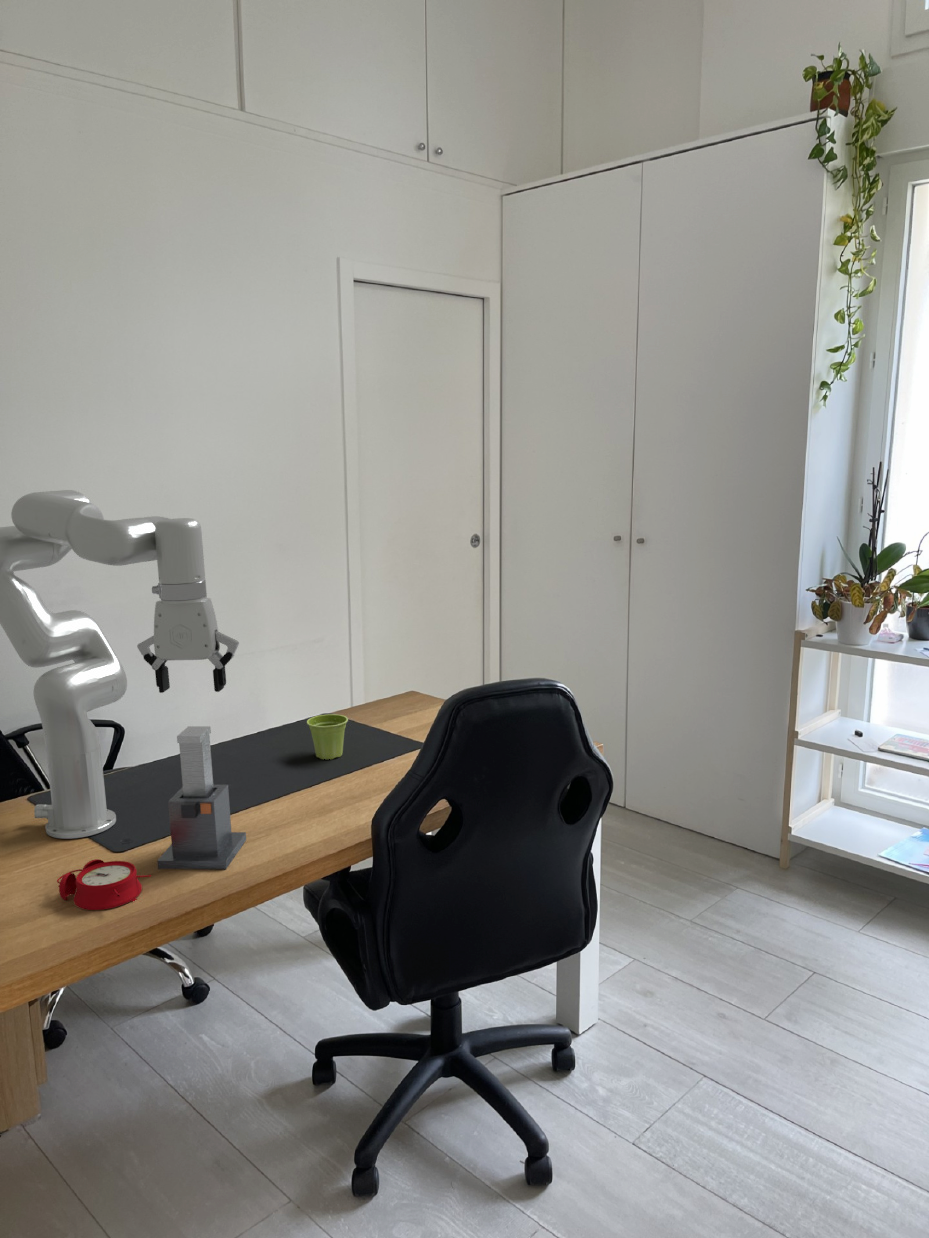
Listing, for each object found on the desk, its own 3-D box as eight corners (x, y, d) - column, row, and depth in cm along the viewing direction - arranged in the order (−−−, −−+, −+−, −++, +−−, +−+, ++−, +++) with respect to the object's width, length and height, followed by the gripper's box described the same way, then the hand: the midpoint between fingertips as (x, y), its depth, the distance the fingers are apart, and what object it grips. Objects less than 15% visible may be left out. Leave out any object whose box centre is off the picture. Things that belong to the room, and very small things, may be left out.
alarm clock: (113, 896, 144) (40, 861, 149) (110, 931, 146) (38, 895, 151) (159, 867, 154) (89, 836, 159) (155, 900, 155) (86, 868, 160)
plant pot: (346, 762, 213) (344, 725, 211) (305, 762, 213) (303, 726, 212) (352, 748, 222) (350, 713, 221) (312, 749, 222) (310, 714, 221)
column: (186, 852, 164) (176, 736, 160) (197, 838, 169) (188, 726, 165) (208, 852, 163) (199, 736, 159) (218, 838, 169) (210, 726, 165)
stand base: (157, 868, 161) (152, 805, 159) (182, 839, 173) (177, 780, 171) (226, 869, 160) (221, 805, 158) (246, 839, 172) (242, 780, 170)
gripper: (124, 596, 155) (134, 696, 158) (226, 594, 153) (234, 695, 157) (142, 590, 162) (151, 685, 165) (240, 587, 161) (247, 684, 164)
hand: (192, 690), depth 161 cm, fingers open, 9 cm apart
